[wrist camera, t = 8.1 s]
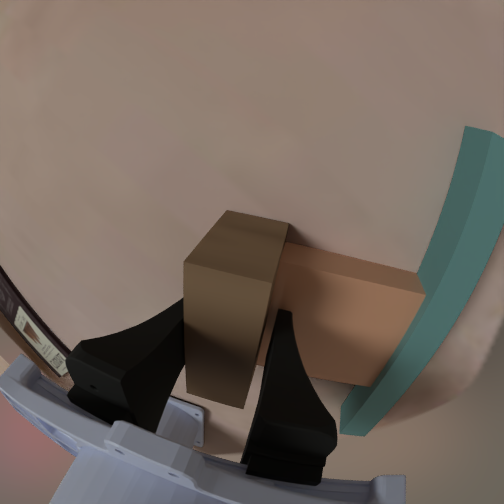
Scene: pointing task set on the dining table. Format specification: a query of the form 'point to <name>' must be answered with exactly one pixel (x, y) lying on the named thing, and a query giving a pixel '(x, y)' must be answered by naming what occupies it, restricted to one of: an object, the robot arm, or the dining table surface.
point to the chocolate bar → (32, 327)
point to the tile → (342, 312)
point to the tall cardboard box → (229, 304)
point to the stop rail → (441, 275)
